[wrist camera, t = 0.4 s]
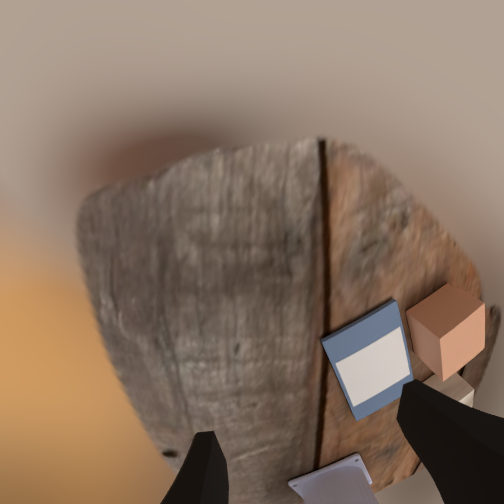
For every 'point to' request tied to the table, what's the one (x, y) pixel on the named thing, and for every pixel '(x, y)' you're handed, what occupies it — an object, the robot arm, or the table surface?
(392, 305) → the blue flat board
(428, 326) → the terracotta block
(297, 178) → the table surface
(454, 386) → the cream block
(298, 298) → the table surface
